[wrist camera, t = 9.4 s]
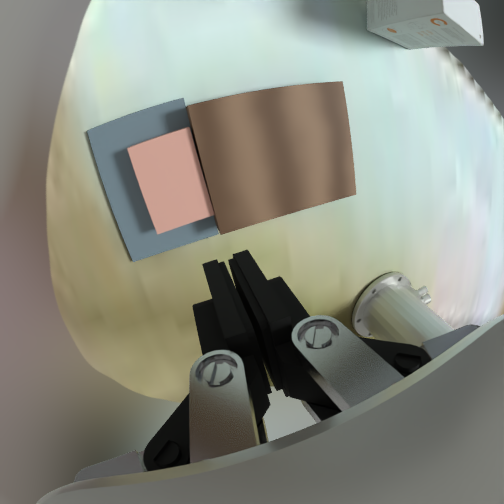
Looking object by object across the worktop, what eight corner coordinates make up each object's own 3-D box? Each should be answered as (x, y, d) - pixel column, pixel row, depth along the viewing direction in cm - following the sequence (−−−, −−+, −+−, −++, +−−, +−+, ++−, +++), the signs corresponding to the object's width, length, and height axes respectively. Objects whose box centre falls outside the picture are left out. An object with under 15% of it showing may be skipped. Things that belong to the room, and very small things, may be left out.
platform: (327, 83, 28) (342, 81, 26) (342, 188, 34) (356, 194, 32) (185, 107, 26) (187, 105, 23) (215, 224, 32) (221, 234, 29)
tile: (187, 126, 26) (189, 127, 24) (211, 209, 31) (214, 214, 29) (129, 146, 25) (127, 148, 24) (157, 227, 30) (157, 234, 28)
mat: (183, 98, 25) (183, 97, 25) (218, 232, 32) (218, 234, 32) (88, 130, 24) (87, 130, 23) (133, 260, 31) (133, 262, 30)
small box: (408, 14, 26) (480, 4, 14) (409, 50, 28) (485, 47, 17) (364, -8, 23) (437, -32, 12) (365, 30, 26) (444, 13, 15)
